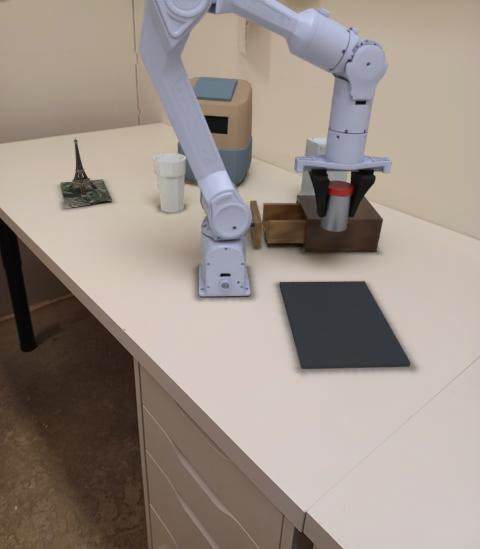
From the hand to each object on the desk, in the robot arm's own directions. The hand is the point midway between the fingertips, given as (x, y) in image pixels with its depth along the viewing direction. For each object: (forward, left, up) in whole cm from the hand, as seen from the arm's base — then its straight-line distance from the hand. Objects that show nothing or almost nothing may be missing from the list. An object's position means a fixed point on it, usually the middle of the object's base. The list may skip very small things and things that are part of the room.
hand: (335, 214), depth 76 cm
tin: (0, 0, -2) cm, 2 cm away
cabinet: (+12, -4, -10) cm, 16 cm away
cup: (+27, +28, -10) cm, 40 cm away
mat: (-15, +2, -10) cm, 18 cm away
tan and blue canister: (+47, +18, -10) cm, 52 cm away
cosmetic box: (+28, -5, -10) cm, 30 cm away
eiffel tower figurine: (+35, +48, -10) cm, 60 cm away
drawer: (+12, +8, -9) cm, 17 cm away
